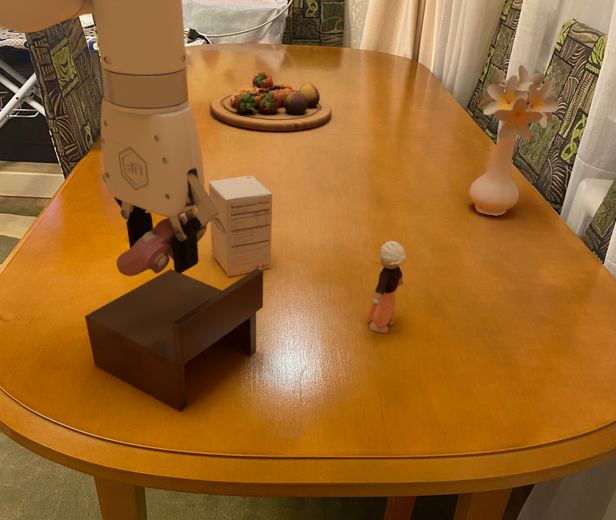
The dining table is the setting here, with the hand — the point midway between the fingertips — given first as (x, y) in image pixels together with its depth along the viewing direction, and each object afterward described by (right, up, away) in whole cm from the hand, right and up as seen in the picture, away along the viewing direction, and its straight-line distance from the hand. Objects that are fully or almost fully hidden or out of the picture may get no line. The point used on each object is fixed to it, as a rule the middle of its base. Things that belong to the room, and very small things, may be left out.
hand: (164, 257), depth 67 cm
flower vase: (+52, +16, +50) cm, 73 cm away
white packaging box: (+5, +3, +28) cm, 29 cm away
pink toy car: (0, -1, +1) cm, 1 cm away
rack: (0, -11, +8) cm, 14 cm away
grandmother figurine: (+26, -7, +16) cm, 32 cm away
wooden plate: (+6, +52, +93) cm, 107 cm away
